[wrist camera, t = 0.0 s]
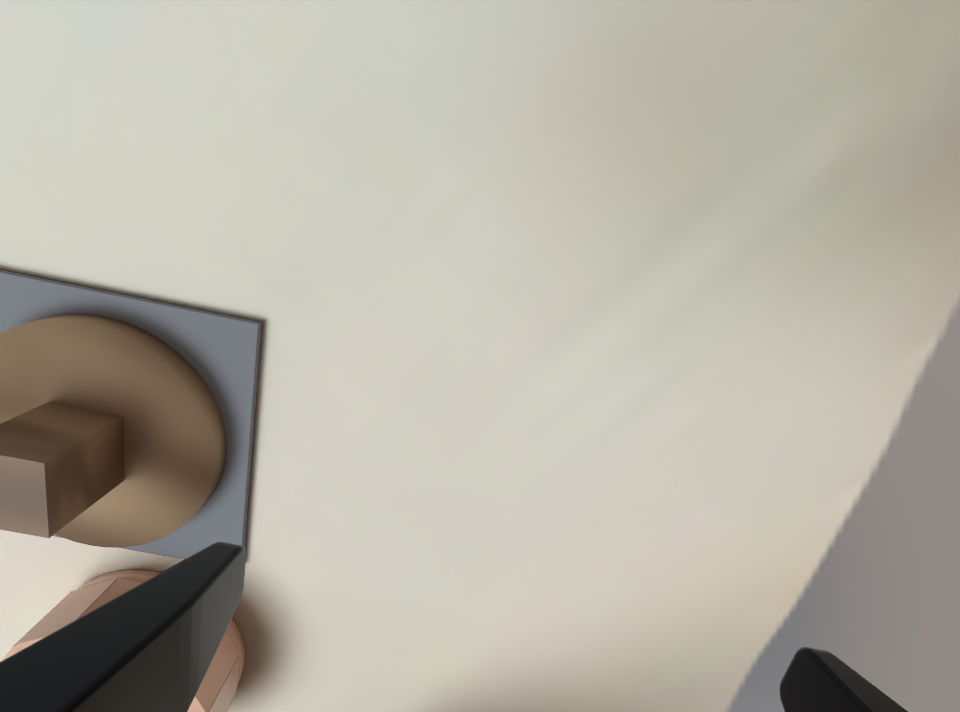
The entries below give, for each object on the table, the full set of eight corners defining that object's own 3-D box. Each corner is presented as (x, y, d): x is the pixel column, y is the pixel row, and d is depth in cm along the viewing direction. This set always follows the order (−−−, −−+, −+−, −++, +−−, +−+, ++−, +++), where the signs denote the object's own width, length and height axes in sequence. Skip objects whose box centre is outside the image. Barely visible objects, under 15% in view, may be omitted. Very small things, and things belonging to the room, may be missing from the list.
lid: (220, 549, 25) (153, 636, 20) (-5, 508, 24) (-132, 587, 19) (233, 341, 22) (156, 383, 17) (-27, 289, 21) (-186, 317, 16)
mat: (243, 563, 25) (239, 569, 25) (-17, 517, 25) (-24, 522, 24) (261, 322, 22) (257, 324, 21) (-45, 260, 21) (-55, 261, 21)
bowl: (239, 725, 29) (201, 804, 25) (65, 696, 28) (-1, 773, 25) (251, 588, 26) (210, 655, 22) (56, 554, 25) (-20, 616, 22)
